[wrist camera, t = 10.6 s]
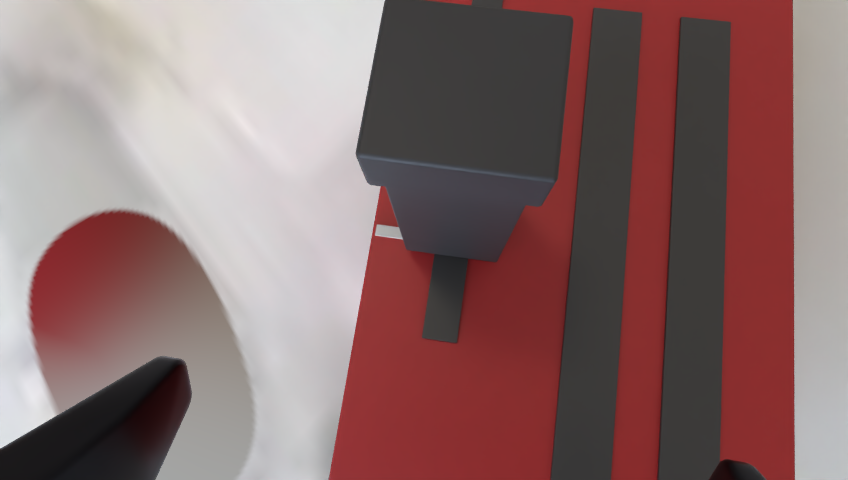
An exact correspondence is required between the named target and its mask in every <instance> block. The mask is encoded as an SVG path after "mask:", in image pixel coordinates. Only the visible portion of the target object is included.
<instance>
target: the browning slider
mask: <svg viewBox="0 0 848 480" xmlns="http://www.w3.org/2000/svg"><path fill="white" fill-rule="evenodd" d="M573 23H574V22H573V18H572V17H571V16H568V15H559V14H550V13H540V12H531V11H521V10H512V9H503V8H493V7H484V6H474V5H465V4H455V3H446V2H437V1H427V0H385V2H384V7H383V13H382V18H381V23H380V28H379V34H378V39H377V44H376V49H375V54H374V60H373V65H372V70H371V75H370V81H369V86H368V91H367V96H366V101H365V107H364V112H363V117H362V122H361V128H360V133H359V138H358V143H357V149H356V157H357V159H358V161H359V164H360V166H361V169H362V171H363V173H364V176H365V178H366V180H367V183H369V184H370V185H376V186H384V187H386V190H387V193H388V196H389V199H390V202H391V205H392V208H393V211H394V214H395V217H396V220H397V223H398V226H399V229H400V232H401V235H402V238H403V241H404V244H405V247H406V249H407V250H410V251H418V252H425V253H432V254H439V255H446V256H453V257H460V258H468V259H475V260H482V261H489V262H497V261H498V259H499V257H500V255H501V253H502V251H503V249H504V247H505V245H506V243H507V241H508V239H509V237H510V235H511V233H512V231H513V229H514V227H515V225H516V224H517V222H518V220H519V218H520V216H521V214H522V212H523V210H524V208H525V206H526V205H528V206H535V207H539V206H542V204H543V203H544V201H545V200H546V198H547V196H548V195H549V193H550V191H551V190H552V188H553V186H554V185H555V183H556V181H557V180H558V174H559V164H560V154H561V143H562V133H563V123H564V113H565V103H566V93H567V83H568V73H569V63H570V53H571V43H572V33H573Z"/></svg>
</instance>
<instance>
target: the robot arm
mask: <svg viewBox="0 0 848 480" xmlns="http://www.w3.org/2000/svg"><path fill="white" fill-rule="evenodd" d="M191 396H192V391H191V385H190V380H189V376H188V370H187V366H186V363H185V362H184V361H183V360H182V359H178V358H172V357H167V356H160V357H157V358H155V359H153V360H151V361H150V362H148V363H146V364H145V365H143V366H141V367H140V368H138V369H136V370H134V371H133V372H131V373H129V374H127V375H126V376H124V377H122V378H121V379H119V380H117V381H115V382H114V383H112V384H110V385H109V386H107V387H105V388H104V389H102V390H100V391H99V392H97V393H95V394H93V395H92V396H90V397H88V398H86V399H85V400H83V401H81V402H80V403H78V404H76V405H75V406H73V407H71V408H69V409H68V410H66V411H64V412H62V413H61V414H59V415H57V416H56V417H54V418H52V419H50V420H49V421H47V422H45V423H44V424H42V425H40V426H39V427H37V428H35V429H33V430H32V431H30V432H28V433H27V434H25V435H23V436H21V437H20V438H18V439H16V440H15V441H13V442H11V443H9V444H8V445H6V446H4V447H3V448H1V449H0V480H155V479H156V477H157V475H158V473H159V471H160V468H161V466H162V464H163V462H164V460H165V457H166V455H167V453H168V451H169V448H170V446H171V444H172V442H173V440H174V438H175V435H176V433H177V431H178V429H179V427H180V425H181V422H182V420H183V418H184V416H185V414H186V411H187V409H188V407H189V404H190V402H191ZM709 480H767V479H766V478H765V477H764V476H763V475H762V474H761V473H760V472H759V471H758V470H757V469H756V468H755V467H754V466H753V465H751V464H749V463H746V462H741V461H735V460H730V459H724V460H722V461H720V463H719V464H718V466H717V467H716V469H715V470H714V472H713V474H712V475H711V477H710V478H709Z"/></svg>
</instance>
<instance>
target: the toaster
mask: <svg viewBox="0 0 848 480" xmlns="http://www.w3.org/2000/svg"><path fill="white" fill-rule="evenodd" d="M427 1H437V2H446V3H455V4H465V5H474V6H484V7H493V8H503V9H512V10H521V11H531V12H540V13H550V14H559V15H568V16H571V17H572V18H573V22H574V23H573V33H572V43H571V53H570V63H569V73H568V83H567V93H566V103H565V113H564V123H563V133H562V143H561V154H560V164H559V174H558V180H557V181H556V183H555V185H554V186H553V188H552V190H551V191H550V193H549V195H548V196H547V198H546V200H545V201H544V203H543V204H542V206H539V207H535V206H528V205H526V206H525V208H524V210H523V212H522V214H521V216H520V218H519V220H518V222H517V224H516V225H515V227H514V229H513V231H512V233H511V235H510V237H509V239H508V241H507V243H506V245H505V247H504V249H503V251H502V253H501V255H500V257H499V259H498V261H497V262H489V261H482V260H475V259H468V258H460V257H453V256H446V255H439V254H432V253H425V252H418V251H410V250H407V249H406V247H405V244H404V241H403V238H402V235H401V232H400V229H399V226H398V223H397V220H396V217H395V214H394V211H393V208H392V205H391V202H390V199H389V196H388V193H387V190H386V187H384V186H381V188H380V194H379V199H378V205H377V210H376V216H375V222H374V227H373V233H372V239H371V244H370V250H369V256H368V261H367V267H366V272H365V278H364V284H363V289H362V295H361V301H360V306H359V312H358V318H357V323H356V329H355V334H354V340H353V346H352V351H351V357H350V363H349V368H348V374H347V380H346V385H345V391H344V396H343V402H342V408H341V413H340V419H339V425H338V430H337V436H336V442H335V447H334V453H333V458H332V464H331V470H330V475H329V480H709V478H710V477H711V475H712V474H713V472H714V470H715V469H716V467H717V466H718V464H719V463H720V461H722V460H724V459H730V460H735V461H741V462H746V463H749V464H751V465H753V466H754V467H755V468H756V469H757V470H758V471H759V472H760V473H761V474H762V475H763V476H764V477H765V478H766V479H767V480H795V435H794V194H793V0H427Z"/></svg>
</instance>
